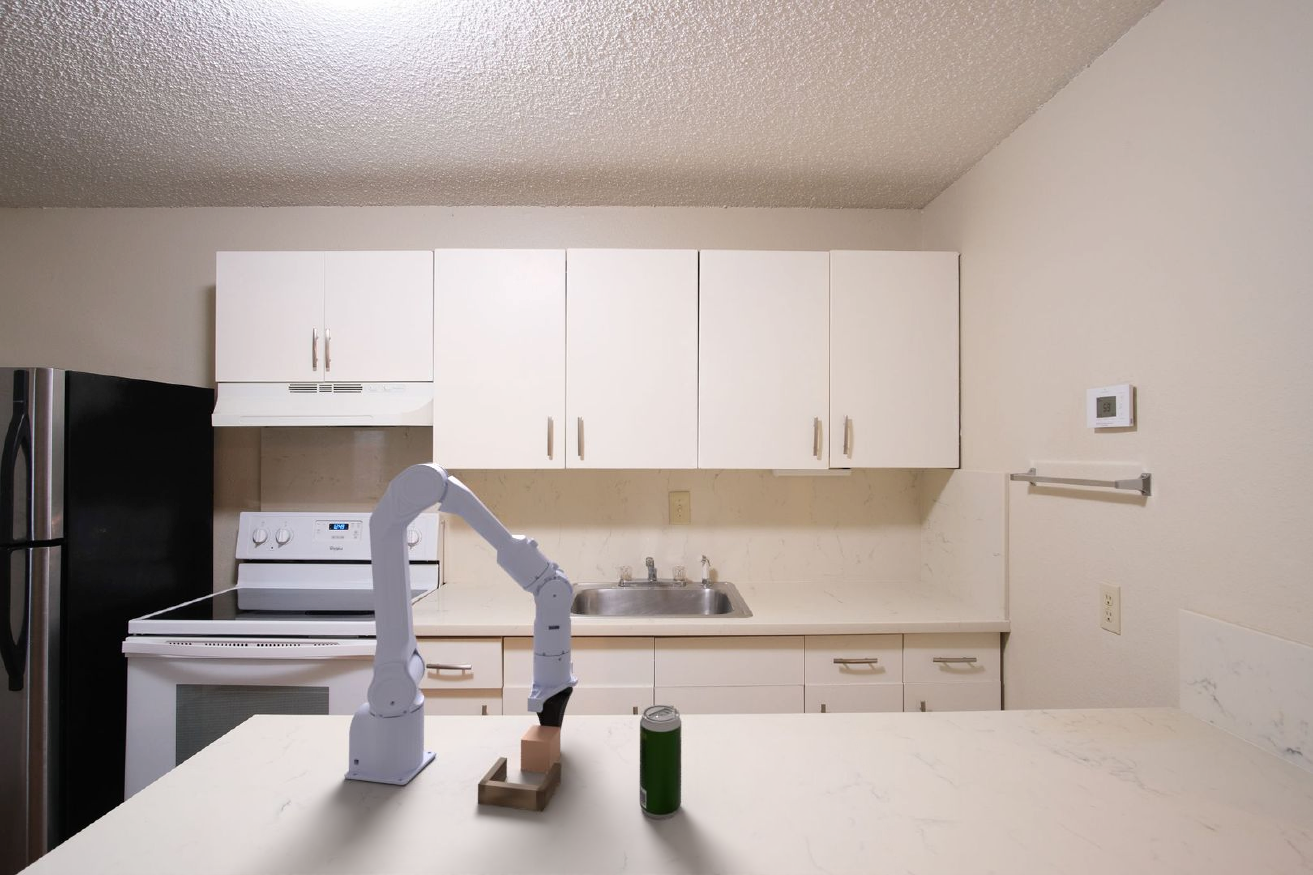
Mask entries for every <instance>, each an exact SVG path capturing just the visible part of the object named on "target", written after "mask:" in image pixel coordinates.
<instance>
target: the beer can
mask: <svg viewBox="0 0 1313 875" xmlns="http://www.w3.org/2000/svg"><path fill="white" fill-rule="evenodd" d="M680 715H681V714H680V711H679V710H678V709H677V708H676V707H674V706H670V705H666V704H655V705H650V706H647V707H646V708H644V709H643V710H642V712H641V717H640V720H639V806H640V808H641V811H642V813H644V815H645V816H647V817H649V818H651V819H653V820H667V819H671V818H673V817H674V816H675V815H677V813H678V812H679V809H681V805H682V720H681V718H680V717H681V716H680Z"/></svg>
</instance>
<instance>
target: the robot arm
mask: <svg viewBox="0 0 1313 875" xmlns="http://www.w3.org/2000/svg"><path fill="white" fill-rule="evenodd" d="M437 503H438V504H440V505H439V507H438V509H437V511H438V512H442V513H447V514H452V515H457V516H459V517H461V519H462V520H463V521H464V522H466V523H467V524H468V525H469V526H470V527H471V528H472V529H473V530H474V531H475V532H477V533H478V534H479V535H480V536H481V538H483V539H484V540H485V541H486V542H488V543H489V544H490V546H492V547H493V548H494V549H495V550H496V552H497V553H496V564H498V565H499V567H500V568H502V569H503V570H504V571H505V572H506V573H507V575H508V576H510V578H512V580H514V581H515V582H516V583H517V584H518V586H520V587H521V589H523V591H525V592H526V593H527V592H528V593H531V594H532V595H533V599H534V604H535V617H534V618H535V619H534V620H533V666H532V667H533V669H532V670H533V672H532V676H533V677H532V679H531V686H530V694H529V695H528V697H527V712H531V713H532V712H533V713H536V715H537V718H538V721H539V725H540V726H551V727H561V728H562V726H563V723H564V722H563V721H564V716H565V713H566V708H567V706H568V702H569V701H570V699H571V696H572V694H573V692H574V687H576V686H577V684H578V683H579V678H578V677H575V676H572V674H573V673H574V670H573V668H574V662H573V661H572V658H571V656H572V651H571V650H572V619H571V612H572V610H571V609H572V608H571V606H572V605H573V603H574V600H575V593H573V592H574V590H573V586H572V584H571V582H570V580H569V578H568V576H567V575H566V574H565V573H564V570H563V569H562V568H559V567H560V565H559V564H558V562H556V561H553V562H552V561H551V560H550V559H549V558H548V557H547V555H545V554H544V553H543V552H542V551H541V550H540V549H539V548H538V546H539V542H537V540H535V538H534V537H531V538H530V539H529V538H528V537H527V536H526V535H523V534H520V535H519V534H518V535H517V534H512V533H511V532H510V531H509V530H508V529H507V528H506V527H505V525H503V523H501V521H500V520H499V519H498V518H497V517H496V516H495V515H494V514H493V512H492V511H490V510H489V509H488V508H487V506H486V505H485V504H484V503H483V502H482V501H481V500H480V499H479V498H478V497H477V496H476V494H474V492H473V491H472V490H471V489H469V488H468V487H467V486H466V485H465V484H464V483H463V482H461V481H460V480H459V479H457V478H456V477H455V476H453V475H451V476H450V475H449V473H448V471H447V470H446V468H444V467H443V466H442V465H440V464H437V463H435V462H424V463H419V464H418V463H417V464H414V465H411V466H409V467H407V468H406V469H404V470H403V471H401V472H400V473H399V474H398V475H397V476H395V477H394V478H393V479H392V480H391V481H390V482H389V484H388V487H387V489H386V491H385V492H384V494H383V495H382V497H381V499H380V500H379V502H378V504H377V505H376V506H375V509H374V510H373V512H372V514H371V516H370V518H369V523H368V527H369V542H370V545H369V546H370V558H371V574H372V590H373V592H372V593H373V604H374V605H373V606H374V620H375V622H374V623H375V639H376V647H375V653H374V659H373V663H372V664H373V666H372V667H373V668H372V669H373V670H372V671H373V676H372V680H371V682H370V684H369V687H368V689H367V702H364V703H363V704H362V705H360V706H359V707H358V709H357V710H356V712H355V713H354V714H353V717H352V719H351V723H350V726H349V732H348V733H349V734H348V737H349V738H348V739H349V743H348V771H346V773H345V774H344V778H345V779H350V780H358V781H363V782H364V781H367V782H373V783H381V784H382V783H383V784H389V785H390V784H392V785H400V786H404V785H407V784H408V783H409V782H410V781H411V780H412V779H413V778H414V777H415V776H417V774H418V773H419V772H420V771H422V770H423V768H425V767H426V766H427V765H428V764H429V763H430V762H431V761H432V760H433V759H434V758H435V757H436V756H437V752H436V751H434V750H425V696H424V694H423V693H422V690H420V689H421V688H420V687H419V686H420V684H421V681H422V680H423V677H424V676H425V672H426V661H425V659H424V658H423V656H422V654H421V653H420V651H419V648H418V639H417V637H416V635H415V632H414V620H413V619H414V618H413V617H414V616H413V602H412V589H411V588H412V586H411V574H410V573H411V572H410V559H409V558H410V556H409V544H408V543H409V542H408V527H409V526H410V525H411V524H412V523H413V522H414V521H415V520H416V518H418V517H419V516H420V515H421V514H422V512H424V511H426V510H428V509H430V508H431V507H433V506H435V505H436V504H437Z"/></svg>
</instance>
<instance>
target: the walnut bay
mask: <svg viewBox="0 0 1313 875" xmlns="http://www.w3.org/2000/svg"><path fill="white" fill-rule="evenodd" d="M507 770H508V757H503V756H500V757H499V758H498V759H497V761H495V763H494V764H493V765H492V766H491V768H490V769H489V770H488V771H487V772H486V774H485V775H484V776H483V778H482V779H480V781H479V782H478V784H477V804H480V805H487V806H495V807H505V808H513V809H520V810H529V811H536V812H537V811H538V812H544V811H545V810H546V808H547V806H548V805H549V803H550V802H551V800H552V798H553V796H554V794H555V792H557V789H558V787H559V786H560V784H561V782H562V763H561V762H560V763H558V762H557V763H554V764H553V765H552V767H551V769H550V770H549V772H548V773H546V775H545V776H544V778H543V779H542V781H541V782H540V784H539V785H532V784H524V783H514V782H505V781H504V780H505V779H506V778H507V776H508V775H507V774H508V771H507Z"/></svg>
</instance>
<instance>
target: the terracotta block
mask: <svg viewBox="0 0 1313 875" xmlns="http://www.w3.org/2000/svg"><path fill="white" fill-rule="evenodd" d="M561 730H562V727H551V726H540V724H532V725H531V726H530V727H529V729H528V730H527V731H526V733H525V734H524V735H523V736H522V738H521V739H520V771H526V770H527V771H528V772H539V773H546V774H547V773H548V772H549V770H550V769H551V767H552V765H553V764H554V763H558V761H559V759H560V757H561V735H562V734H561V733H562V732H561ZM527 771H526V772H527Z"/></svg>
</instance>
